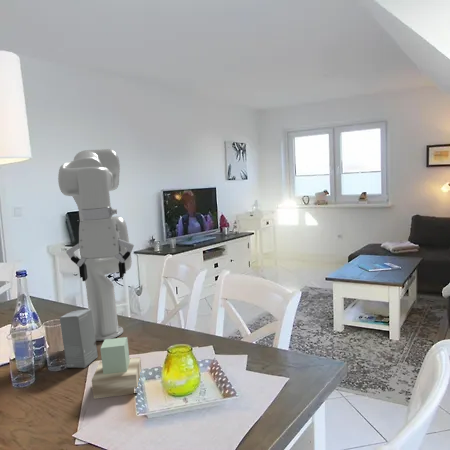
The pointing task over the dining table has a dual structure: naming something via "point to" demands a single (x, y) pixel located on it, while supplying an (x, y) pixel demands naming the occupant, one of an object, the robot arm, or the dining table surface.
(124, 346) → the sage block
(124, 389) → the base block
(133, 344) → the dining table surface
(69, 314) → the skincare box
